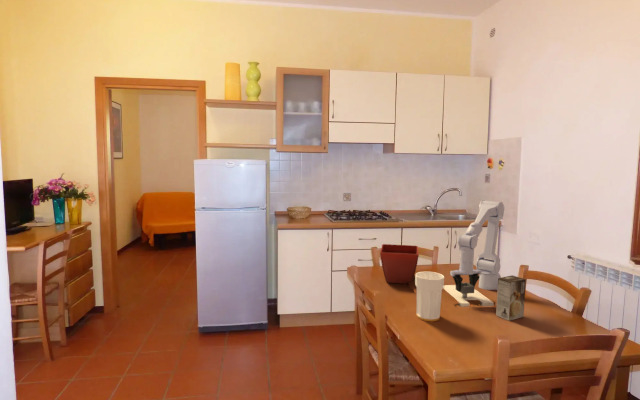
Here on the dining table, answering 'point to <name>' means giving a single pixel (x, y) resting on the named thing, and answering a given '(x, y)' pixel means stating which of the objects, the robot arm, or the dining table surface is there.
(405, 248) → the plant pot
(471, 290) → the grey square frame
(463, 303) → the shelf board
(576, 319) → the dining table surface
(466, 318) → the dining table surface
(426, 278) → the cup
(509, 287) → the coffee box
